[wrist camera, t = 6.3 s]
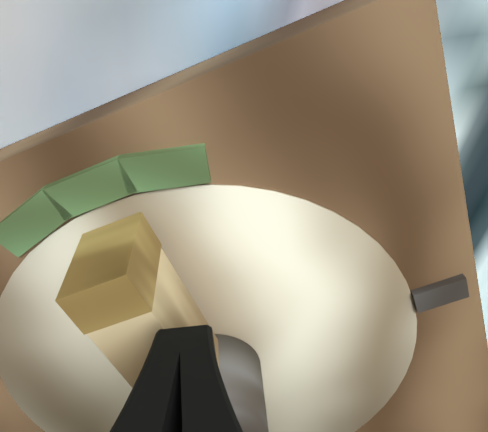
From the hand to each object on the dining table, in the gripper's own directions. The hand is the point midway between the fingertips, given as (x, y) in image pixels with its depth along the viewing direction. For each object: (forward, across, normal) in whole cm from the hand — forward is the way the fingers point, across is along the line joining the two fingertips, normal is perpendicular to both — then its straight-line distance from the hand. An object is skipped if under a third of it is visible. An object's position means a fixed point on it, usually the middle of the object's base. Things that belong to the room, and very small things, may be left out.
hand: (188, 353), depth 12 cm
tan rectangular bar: (+4, +1, +3) cm, 5 cm away
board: (+6, 0, +6) cm, 9 cm away
